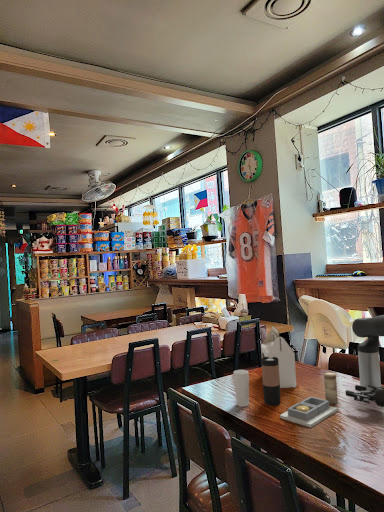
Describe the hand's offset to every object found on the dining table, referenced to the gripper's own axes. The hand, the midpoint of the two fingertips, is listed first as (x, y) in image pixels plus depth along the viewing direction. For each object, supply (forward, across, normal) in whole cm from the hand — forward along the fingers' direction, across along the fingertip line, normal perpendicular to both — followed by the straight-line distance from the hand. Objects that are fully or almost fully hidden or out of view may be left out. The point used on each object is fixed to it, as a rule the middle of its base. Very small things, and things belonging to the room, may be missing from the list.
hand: (350, 390), depth 165 cm
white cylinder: (+37, +28, +7) cm, 47 cm away
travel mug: (+28, +18, +7) cm, 34 cm away
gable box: (+44, -9, +7) cm, 45 cm away
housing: (+9, +18, +7) cm, 22 cm away
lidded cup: (+9, 0, +7) cm, 11 cm away
